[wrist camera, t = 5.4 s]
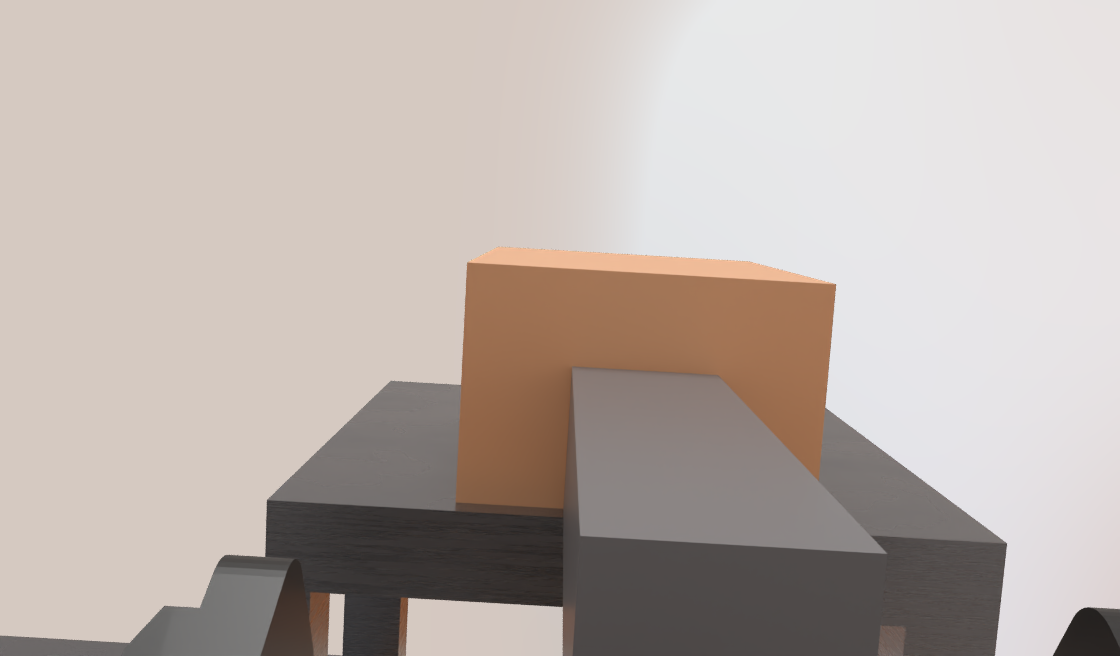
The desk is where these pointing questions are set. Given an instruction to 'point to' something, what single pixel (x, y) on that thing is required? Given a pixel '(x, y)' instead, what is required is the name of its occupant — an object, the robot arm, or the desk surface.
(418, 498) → the stepped rack
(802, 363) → the plug
